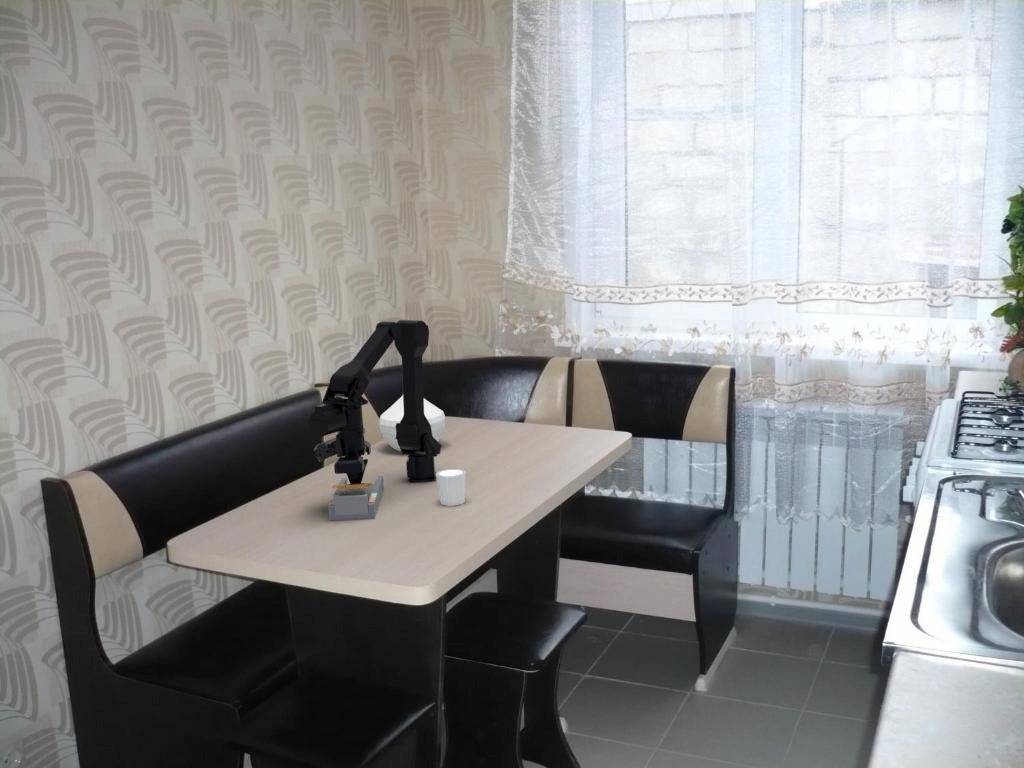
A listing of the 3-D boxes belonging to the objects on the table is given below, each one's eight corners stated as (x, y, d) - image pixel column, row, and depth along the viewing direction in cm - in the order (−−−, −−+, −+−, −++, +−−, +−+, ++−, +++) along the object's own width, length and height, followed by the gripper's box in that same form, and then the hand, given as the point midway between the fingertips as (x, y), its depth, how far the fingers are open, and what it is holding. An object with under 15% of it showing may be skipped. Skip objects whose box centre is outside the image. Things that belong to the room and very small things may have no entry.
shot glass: (472, 498, 245) (470, 469, 243) (461, 507, 238) (459, 477, 237) (444, 496, 247) (442, 467, 246) (433, 505, 241) (431, 476, 239)
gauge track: (384, 488, 256) (382, 467, 255) (374, 518, 233) (372, 495, 232) (342, 490, 256) (340, 470, 255) (329, 520, 233) (327, 498, 232)
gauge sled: (376, 501, 241) (374, 480, 240) (373, 507, 236) (372, 486, 235) (335, 503, 241) (333, 482, 240) (332, 510, 236) (330, 488, 235)
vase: (460, 443, 296) (456, 376, 292) (420, 459, 281) (415, 389, 277) (408, 437, 306) (403, 372, 302) (367, 453, 291) (362, 385, 287)
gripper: (321, 419, 249) (326, 483, 252) (308, 438, 230) (314, 507, 233) (368, 417, 249) (373, 481, 252) (359, 436, 231) (365, 504, 233)
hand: (355, 493), depth 243 cm, fingers closed
